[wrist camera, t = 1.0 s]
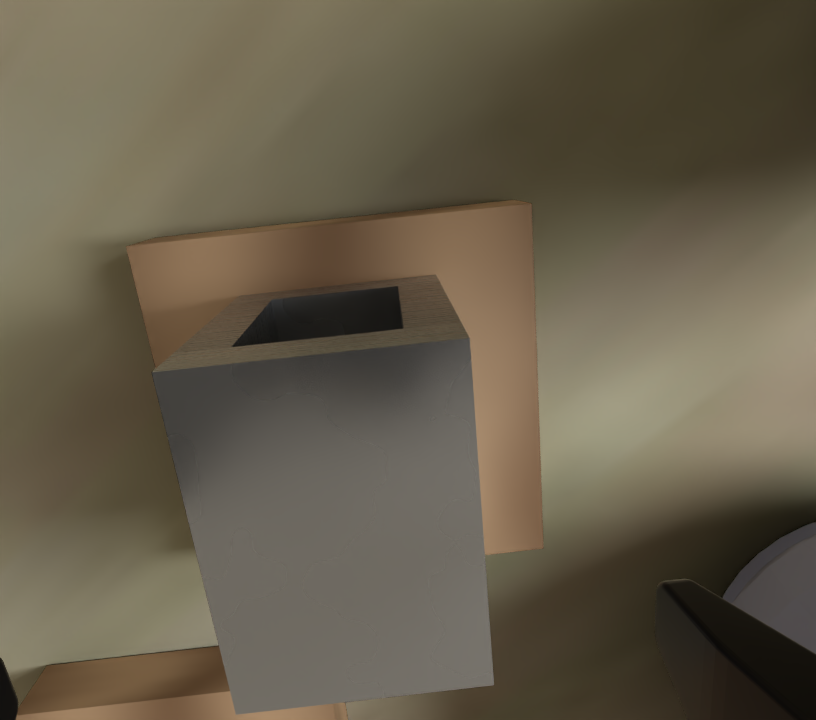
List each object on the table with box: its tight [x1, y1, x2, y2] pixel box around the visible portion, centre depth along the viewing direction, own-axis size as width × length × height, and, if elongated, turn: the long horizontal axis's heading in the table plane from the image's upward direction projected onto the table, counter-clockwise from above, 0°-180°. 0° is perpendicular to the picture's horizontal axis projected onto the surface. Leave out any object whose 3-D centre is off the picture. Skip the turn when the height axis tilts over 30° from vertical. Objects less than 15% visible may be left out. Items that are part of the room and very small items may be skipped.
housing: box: [152, 275, 494, 715], centre depth 13 cm, size 5×7×6 cm
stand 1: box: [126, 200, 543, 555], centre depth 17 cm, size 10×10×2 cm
